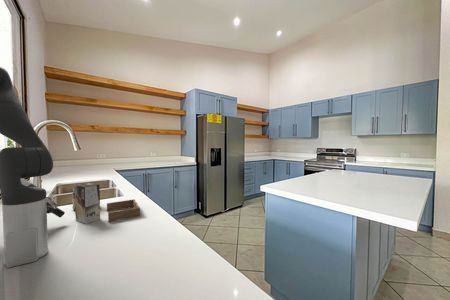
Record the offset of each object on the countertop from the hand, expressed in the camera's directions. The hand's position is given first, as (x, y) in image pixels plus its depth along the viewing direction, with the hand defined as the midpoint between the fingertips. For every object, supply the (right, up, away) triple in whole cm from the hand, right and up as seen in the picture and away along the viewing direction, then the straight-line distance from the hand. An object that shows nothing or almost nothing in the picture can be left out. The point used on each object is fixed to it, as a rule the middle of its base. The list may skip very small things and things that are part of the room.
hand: (62, 215), depth 82 cm
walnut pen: (+19, -3, +13) cm, 23 cm away
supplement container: (-5, -4, +20) cm, 21 cm away
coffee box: (+7, -4, +5) cm, 10 cm away
